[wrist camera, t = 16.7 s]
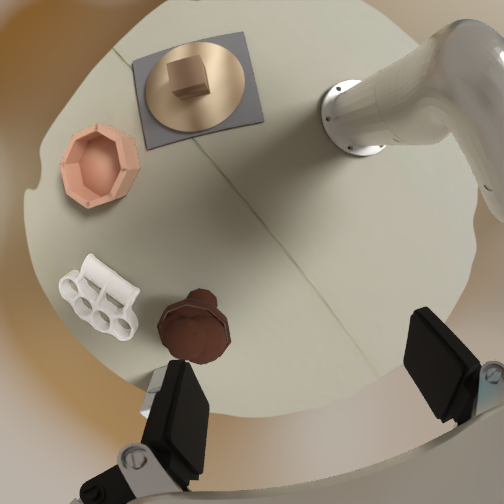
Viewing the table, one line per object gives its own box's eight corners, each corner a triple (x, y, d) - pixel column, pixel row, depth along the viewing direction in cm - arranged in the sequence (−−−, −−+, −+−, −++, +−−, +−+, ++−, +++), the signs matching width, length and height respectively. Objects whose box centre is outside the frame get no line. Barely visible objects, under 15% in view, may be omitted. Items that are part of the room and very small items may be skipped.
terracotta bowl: (130, 118, 36) (117, 114, 31) (145, 189, 40) (133, 193, 35) (72, 143, 36) (56, 143, 32) (86, 208, 40) (71, 214, 36)
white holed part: (157, 297, 47) (127, 343, 50) (81, 240, 43) (60, 294, 46) (152, 306, 43) (122, 353, 47) (71, 246, 39) (52, 301, 43)
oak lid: (235, 35, 31) (233, 16, 25) (253, 120, 36) (255, 112, 30) (142, 59, 32) (125, 46, 26) (155, 143, 37) (139, 141, 31)
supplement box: (179, 359, 51) (167, 405, 39) (199, 381, 53) (192, 427, 41) (153, 368, 52) (138, 412, 40) (173, 389, 54) (163, 432, 42)
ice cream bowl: (163, 311, 47) (138, 366, 33) (188, 262, 44) (165, 310, 30) (214, 336, 49) (206, 396, 35) (244, 292, 46) (244, 348, 32)
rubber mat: (243, 32, 32) (243, 31, 31) (263, 121, 37) (264, 121, 36) (133, 62, 32) (132, 61, 32) (148, 149, 38) (147, 149, 37)
